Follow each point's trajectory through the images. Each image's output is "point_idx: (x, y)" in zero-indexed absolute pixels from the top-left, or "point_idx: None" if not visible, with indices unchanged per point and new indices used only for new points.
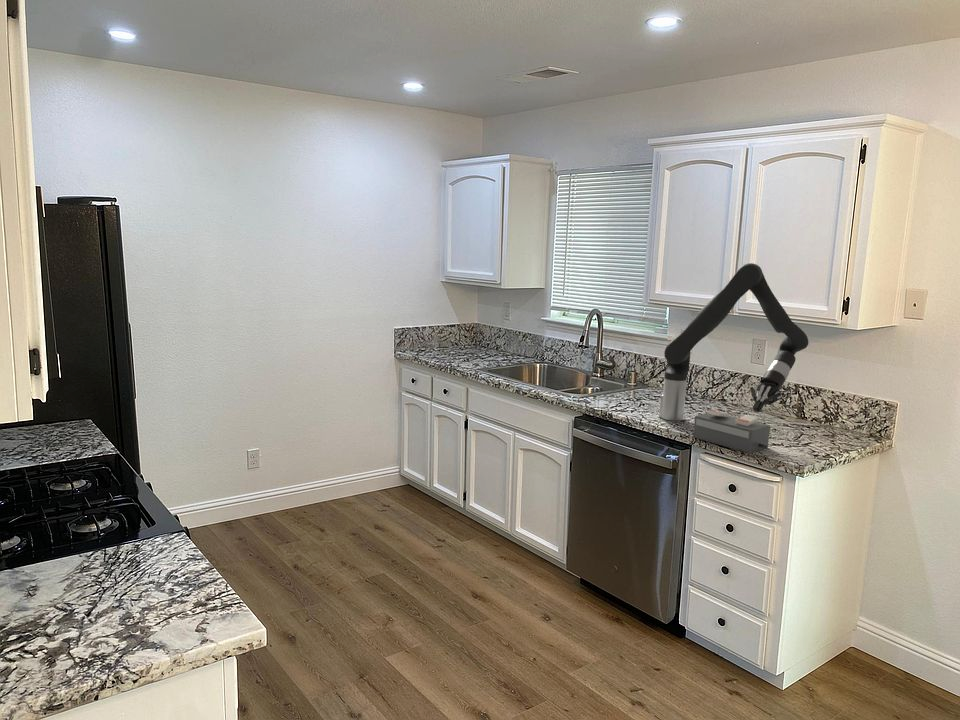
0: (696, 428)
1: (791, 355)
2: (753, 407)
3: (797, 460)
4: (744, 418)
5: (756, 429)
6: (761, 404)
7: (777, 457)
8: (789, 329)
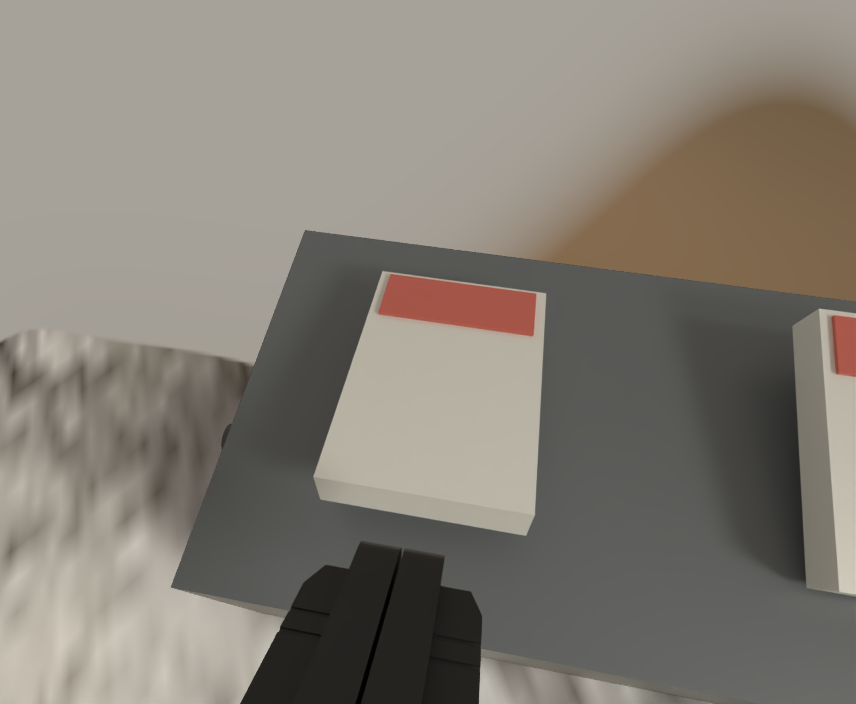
0: None
1: None
2: (456, 596)
3: (6, 442)
4: (476, 370)
5: (283, 291)
6: (269, 680)
7: (153, 406)
8: None
